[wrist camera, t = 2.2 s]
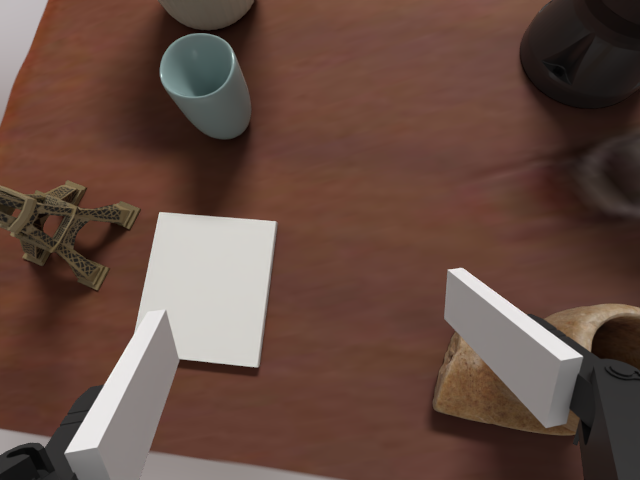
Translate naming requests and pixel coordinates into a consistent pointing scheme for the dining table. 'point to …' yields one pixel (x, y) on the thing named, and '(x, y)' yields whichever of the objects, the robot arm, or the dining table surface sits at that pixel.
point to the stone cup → (499, 401)
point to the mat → (211, 285)
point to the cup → (207, 85)
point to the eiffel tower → (59, 203)
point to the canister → (207, 12)
